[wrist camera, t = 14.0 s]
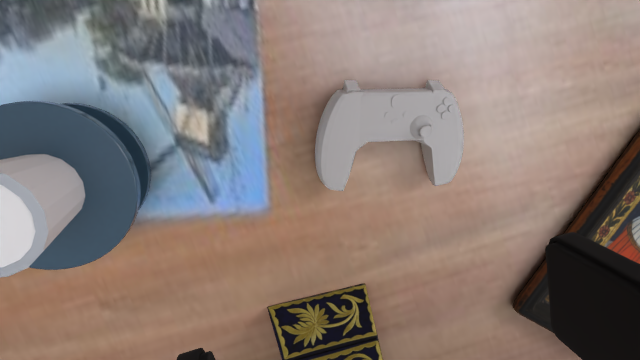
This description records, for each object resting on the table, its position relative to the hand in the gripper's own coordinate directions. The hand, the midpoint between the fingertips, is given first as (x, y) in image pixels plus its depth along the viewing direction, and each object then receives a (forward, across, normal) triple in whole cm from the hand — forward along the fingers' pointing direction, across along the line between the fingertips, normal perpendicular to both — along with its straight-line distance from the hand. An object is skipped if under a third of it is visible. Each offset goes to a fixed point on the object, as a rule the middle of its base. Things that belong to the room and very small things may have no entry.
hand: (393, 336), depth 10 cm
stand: (+28, +19, -3) cm, 34 cm away
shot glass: (+22, +19, -3) cm, 29 cm away
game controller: (+28, -9, +1) cm, 30 cm away
